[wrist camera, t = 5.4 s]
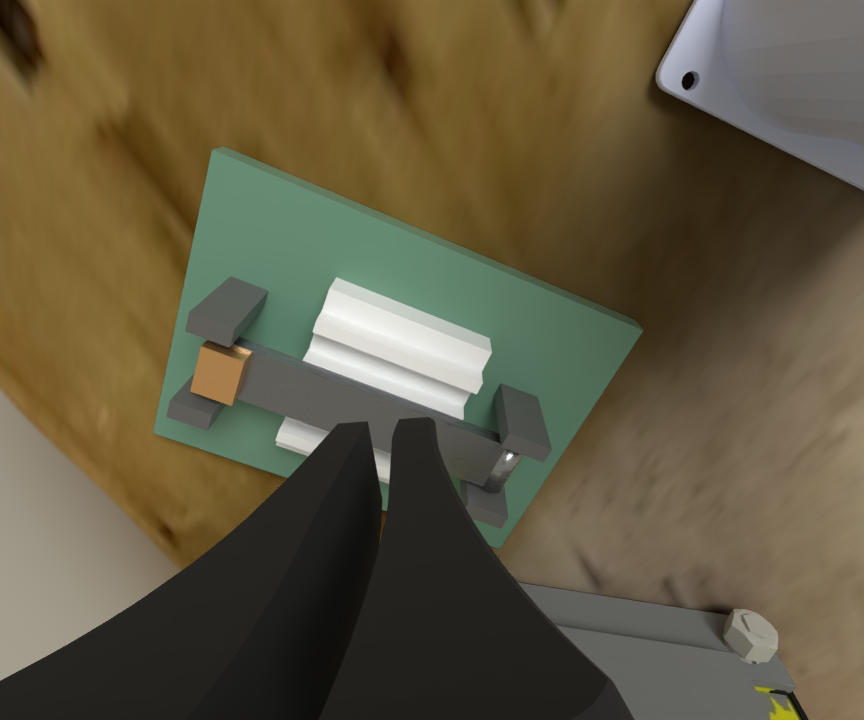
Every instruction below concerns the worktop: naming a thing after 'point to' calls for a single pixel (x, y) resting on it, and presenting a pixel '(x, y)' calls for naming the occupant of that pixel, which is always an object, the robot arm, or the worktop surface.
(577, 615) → the electrical component
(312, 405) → the bar
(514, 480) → the heatsink base
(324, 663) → the robot arm
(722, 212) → the worktop surface
